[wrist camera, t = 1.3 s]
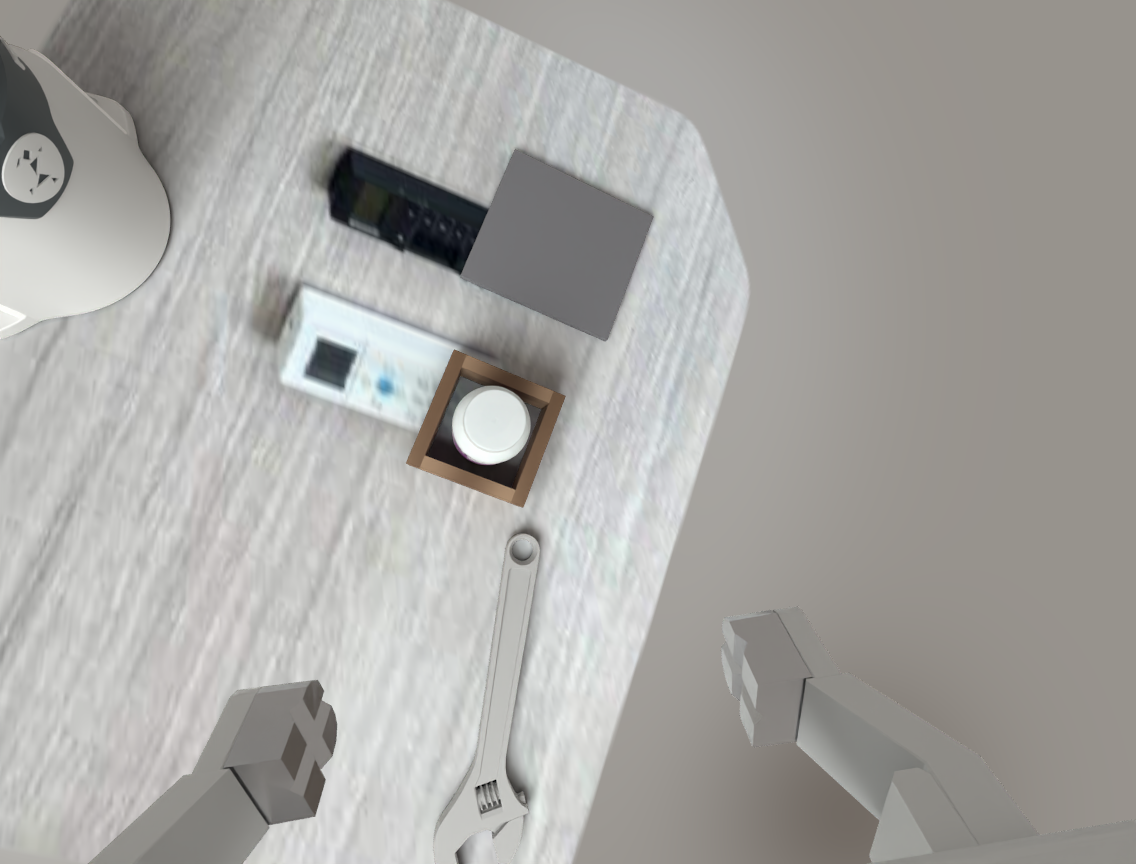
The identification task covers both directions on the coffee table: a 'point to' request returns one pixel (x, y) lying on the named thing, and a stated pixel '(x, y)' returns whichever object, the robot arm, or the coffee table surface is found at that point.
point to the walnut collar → (488, 376)
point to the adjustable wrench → (495, 727)
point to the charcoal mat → (557, 246)
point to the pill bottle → (490, 425)
